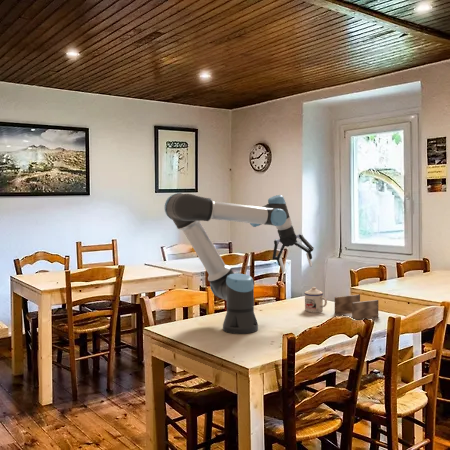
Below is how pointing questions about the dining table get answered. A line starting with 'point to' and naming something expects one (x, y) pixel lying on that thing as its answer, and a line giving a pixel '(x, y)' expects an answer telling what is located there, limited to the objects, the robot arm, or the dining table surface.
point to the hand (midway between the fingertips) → (297, 268)
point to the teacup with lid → (314, 300)
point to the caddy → (356, 307)
